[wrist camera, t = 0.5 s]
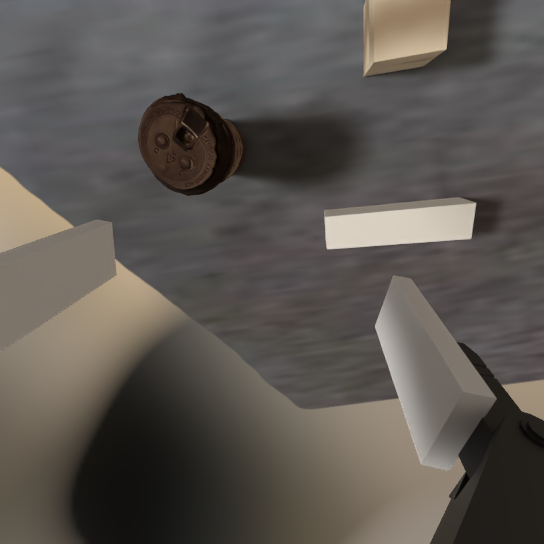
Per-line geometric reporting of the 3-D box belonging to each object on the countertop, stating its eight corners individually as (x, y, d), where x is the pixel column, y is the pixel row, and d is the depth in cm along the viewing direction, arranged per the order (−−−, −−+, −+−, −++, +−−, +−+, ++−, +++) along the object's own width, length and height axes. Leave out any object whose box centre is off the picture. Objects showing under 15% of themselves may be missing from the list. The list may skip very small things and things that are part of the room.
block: (363, 7, 29) (374, -25, 24) (427, -7, 28) (454, -44, 23) (363, 76, 32) (373, 62, 26) (422, 66, 30) (446, 49, 25)
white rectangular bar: (324, 210, 38) (325, 216, 34) (459, 197, 35) (476, 202, 31) (325, 239, 39) (326, 249, 35) (455, 229, 36) (471, 238, 33)
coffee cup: (250, 102, 34) (215, 79, 22) (262, 176, 37) (237, 190, 25) (181, 117, 35) (114, 102, 24) (198, 186, 39) (147, 204, 27)
